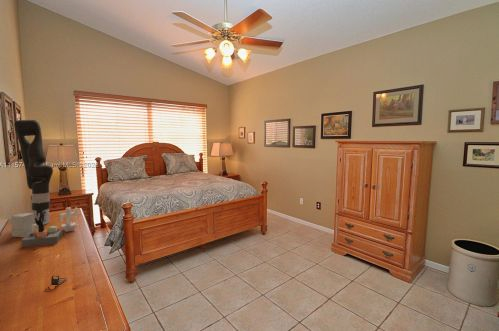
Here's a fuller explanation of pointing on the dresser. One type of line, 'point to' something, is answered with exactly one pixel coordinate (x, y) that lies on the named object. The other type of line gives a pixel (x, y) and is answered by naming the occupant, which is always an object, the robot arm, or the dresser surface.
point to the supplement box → (22, 224)
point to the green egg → (52, 229)
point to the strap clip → (57, 280)
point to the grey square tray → (41, 239)
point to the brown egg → (42, 234)
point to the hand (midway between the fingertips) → (41, 231)
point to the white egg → (34, 229)
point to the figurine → (68, 219)
